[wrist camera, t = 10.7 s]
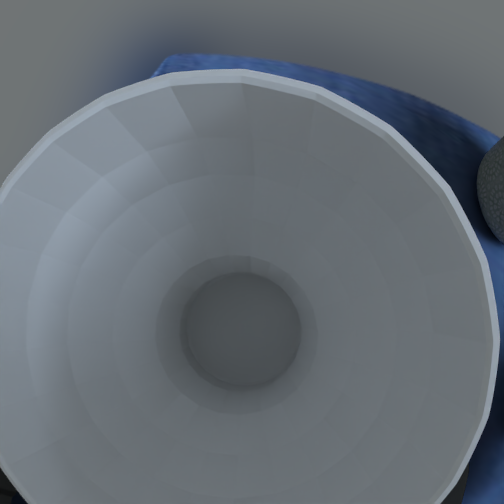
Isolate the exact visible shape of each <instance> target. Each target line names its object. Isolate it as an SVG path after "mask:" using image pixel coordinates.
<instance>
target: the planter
mask: <svg viewBox="0 0 504 504" xmlns="http://www.w3.org/2000/svg"><path fill="white" fill-rule="evenodd" d="M477 195H478V200H479V205H480V208H481V211H482V214H483V216H484V219H485V221H486V223H487V225H488V226H489V228H490V229H491V231H492V232H493V234H494V235H495V236H496V237H497V238H498V239H499V240H500V241H501V242H502V243H503V244H504V136H503V137H502V138H501V139H500V140H499V141H498V142H497V143H496V144H495V145H494V146H493V147H492V148H491V149H490V150H489V151H488V152H487V153H486V155H485V156H484V157H483V159H482V161H481V163H480V166H479V169H478V173H477Z"/></svg>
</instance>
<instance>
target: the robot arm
mask: <svg viewBox="0 0 504 504" xmlns="http://www.w3.org/2000/svg"><path fill="white" fill-rule="evenodd" d="M468 473H469V463H468V464H467V466H466V468H465V469H464V471H463V473H462V475H461V477H460V479H459V480H458V482H457V484H456V485H455V486H454V488H453V489H452V490H451V491H450V493H449V494H448V495H447V496H446V498H445V499H444V500H443V501H442V502H441V503H440V504H461V503H462V499H463V495H464V491H465V487H466V482H467V478H468ZM0 504H28V503H27V502H26V501H25V499H24V498H23V497H22V496H21V495H20V493H19V492H18V491H17V490H16V488H15V487H14V486H13V484H12V483H11V482H10V480H9V479H8V478H7V476H6V475H5V473H4V472H3V471H2V469H1V468H0Z"/></svg>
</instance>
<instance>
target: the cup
mask: <svg viewBox="0 0 504 504" xmlns="http://www.w3.org/2000/svg"><path fill="white" fill-rule="evenodd" d="M499 347H500V333H499V324H498V316H497V309H496V302H495V296H494V290H493V285H492V280H491V275H490V270H489V266H488V262H487V259H486V256H485V254H484V252H483V249H482V247H481V245H480V243H479V241H478V238H477V236H476V234H475V232H474V230H473V228H472V226H471V224H470V222H469V220H468V218H467V216H466V214H465V212H464V211H463V209H462V207H461V205H460V203H459V201H458V200H457V198H456V196H455V194H454V193H453V191H452V189H451V187H450V186H449V185H448V184H447V182H446V181H445V180H444V179H443V178H442V177H441V176H440V174H439V173H438V172H437V171H436V170H435V169H434V168H433V167H432V166H431V165H430V164H429V162H428V161H427V160H426V159H425V158H424V157H423V156H422V155H421V154H420V153H419V152H418V151H417V150H416V149H415V148H414V147H413V146H412V145H411V144H410V143H409V142H408V141H407V140H406V139H405V138H404V137H403V136H402V135H401V134H400V133H398V132H397V131H396V130H395V129H394V128H393V127H392V126H390V125H389V124H387V123H386V122H384V121H382V120H381V119H379V118H377V117H376V116H374V115H372V114H371V113H369V112H367V111H366V110H364V109H362V108H360V107H359V106H357V105H355V104H353V103H351V102H350V101H348V100H346V99H344V98H342V97H340V96H338V95H336V94H334V93H332V92H330V91H328V90H326V89H324V88H322V87H320V86H317V85H313V84H309V83H306V82H302V81H298V80H294V79H290V78H286V77H281V76H277V75H272V74H268V73H263V72H257V71H252V70H247V69H218V70H198V71H184V72H174V73H168V74H164V75H161V76H157V77H154V78H151V79H148V80H144V81H141V82H138V83H135V84H132V85H129V86H126V87H123V88H121V89H118V90H115V91H113V92H110V93H107V94H105V95H103V96H101V97H100V98H98V99H96V100H94V101H93V102H91V103H90V104H88V105H86V106H85V107H83V108H81V109H80V110H78V111H77V112H75V113H74V114H72V115H71V116H69V117H68V118H66V119H65V120H63V121H62V122H61V123H59V124H58V125H56V126H55V127H54V128H52V129H51V130H50V131H48V132H47V133H46V134H45V135H44V136H43V137H42V138H41V139H40V140H39V141H38V142H37V144H36V145H35V146H34V147H33V148H32V149H31V150H30V151H29V152H28V153H27V154H26V155H25V157H24V158H23V159H22V160H21V161H20V162H19V163H18V164H17V166H16V167H15V168H14V169H13V170H12V172H11V173H10V174H9V175H8V176H7V178H6V179H5V181H4V182H3V184H2V186H1V187H0V468H1V469H2V471H3V472H4V473H5V475H6V476H7V478H8V479H9V480H10V482H11V483H12V484H13V486H14V487H15V488H16V490H17V491H18V492H19V493H20V495H21V496H22V497H23V498H24V499H25V501H26V502H27V503H28V504H440V503H441V502H442V501H443V500H444V499H445V498H446V496H447V495H448V494H449V493H450V491H451V490H452V489H453V488H454V486H455V485H456V484H457V482H458V480H459V479H460V477H461V475H462V473H463V471H464V469H465V468H466V466H467V464H468V462H469V460H470V458H471V456H472V454H473V452H474V450H475V448H476V445H477V443H478V441H479V439H480V437H481V434H482V432H483V430H484V427H485V425H486V422H487V420H488V417H489V413H490V409H491V404H492V399H493V393H494V387H495V381H496V374H497V367H498V358H499Z"/></svg>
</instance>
